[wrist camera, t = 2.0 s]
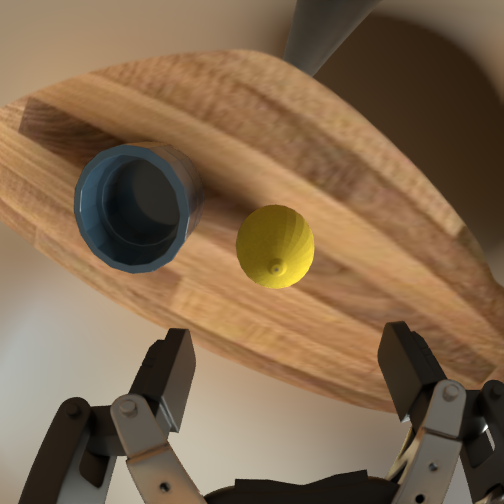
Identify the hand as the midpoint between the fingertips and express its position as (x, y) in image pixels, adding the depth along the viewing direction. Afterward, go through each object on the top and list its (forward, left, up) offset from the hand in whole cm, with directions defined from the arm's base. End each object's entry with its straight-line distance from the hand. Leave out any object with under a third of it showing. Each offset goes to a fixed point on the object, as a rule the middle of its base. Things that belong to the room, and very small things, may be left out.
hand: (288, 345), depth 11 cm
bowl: (+4, -10, -14) cm, 18 cm away
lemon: (0, 0, -15) cm, 15 cm away
